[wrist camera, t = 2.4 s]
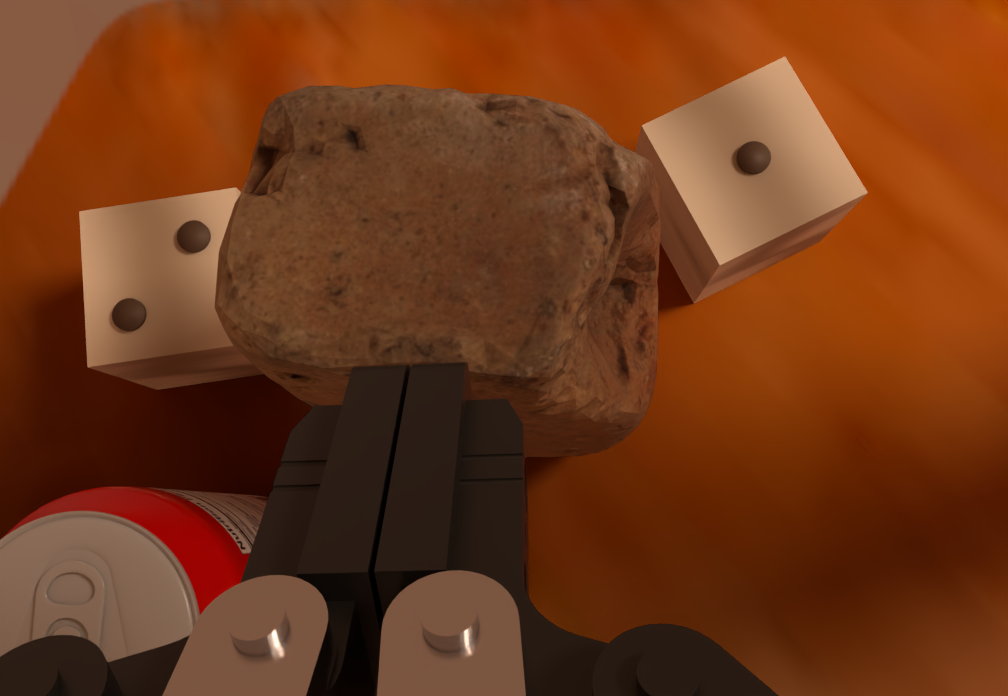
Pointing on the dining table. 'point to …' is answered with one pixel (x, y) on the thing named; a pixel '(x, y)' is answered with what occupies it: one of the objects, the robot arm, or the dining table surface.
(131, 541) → the soda can
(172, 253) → the dotted cube two
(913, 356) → the dining table surface
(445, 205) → the block
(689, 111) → the dotted cube one
